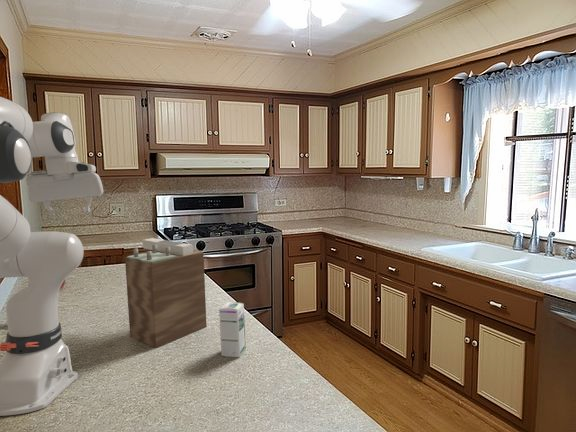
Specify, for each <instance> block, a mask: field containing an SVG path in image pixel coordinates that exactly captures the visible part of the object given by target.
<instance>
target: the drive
mask: <svg viewBox="0 0 576 432" xmlns="http://www.w3.org/2000/svg"><path fill="white" fill-rule="evenodd" d="M152 245H157V251H160V252H165V253H166V247H170V253H171V254H176V255H181V256H185V255H190V254H193V250H194V246H193V245H194V244H191V243H184V242H178V241H172V240H167V239H161V238H155V237H150V238H145V239H142V248H143V249H144V250H145V249H146V250H149V251H153V249H152Z"/></svg>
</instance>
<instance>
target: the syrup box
mask: <svg viewBox="0 0 576 432" xmlns="http://www.w3.org/2000/svg"><path fill="white" fill-rule="evenodd" d="M218 314H219V315H218V317H219V332H220V333H219V334H220V337H219V338H220V349H221V350H220V352H221V356H222V357H228V358H241V356H242V355H243V353H244V352H245V351H246V348H247V346H246V326H245V325H246V323H245V321H246V320H245V305H244V303H243V302H238V301H237V302H236V301H226V302H225V303H224V304H223V305H222V306H220V307H219V309H218Z"/></svg>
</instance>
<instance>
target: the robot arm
mask: <svg viewBox="0 0 576 432" xmlns="http://www.w3.org/2000/svg"><path fill="white" fill-rule="evenodd" d="M76 144H77V142H76V136H75V133H74V128H73V125H72V122H71V119H70V117H69V115H67V114H65V113H61V112H47V113H43V114H42V115H41V116H40V121H33V119H32V117H31V116H30V114H29V113H28V111H27V110H26V109H25V108H24V107H23V106H21V105H20V104H18V103H16V102H14V101H13V100H10V99H7V98H6V97H3V96H0V183H1V184H8V183H9V184H10V183H13V182H18V181H21V180H24V179H25V181H26V185H27V187H28V188H27V189H28V200H29V201H30V202H31V203H34V204H35V203H43V207H45V209H47V211H48V213H49V217H56V216H57V210H56V209H53V208H52V206H51V205H52V203H51V202H53V201H60V200H62V201H63V200H70V199H78V198H79V199H81V198H85V201H87V203H86V205H85V206H83V207H82V209H83V213H90V212H91V209H90V208H91V207H90V206H91V204H92V202H93V197H99V196H102V195H103V194H104V188H103V187H104V186H103V183H102V180H101V177H100V175H99V174H97V173H96V171H97V167H96V166H95V165H94V164H90V163H86V162H82V161H81V162H80V161H79V157H78V153H77V152H76V151H77V150H76ZM40 157H44V162H45V167H46V169H45V170H44V169H43V170H38V171H36V170H35V171H30V170H31V166H32V158H40ZM83 259H84V246H83V243H82V240H80V238H79V237H78V236H77V235H76V234H74V233H71V232H63V231H57V230H49V231H48V230H47V231H46V230H45V231H31V226H30V223H29V221H28V219H27V218H26V217H25V216H24V215H23V214H22V213H21V212H20V211H19V210H18V209H17V208H16V207H15V206H14V205H13V204H12V203H10V201H9V200H8V199H6V198H5V197H4V196H2V195H1V194H0V279H3V278H5V279H6V278H21V277H22V278H23V277H24V278H25V277H27V278H28V282H27V283H28V284H27V287H25V288H23V289H21V290H19V291H17V292H15V293H14V294H13V295H11V297H10V298H9V299H8V300H7V303H6V305H5V312H6V322H7V331H8V332H7V333H6V338H5V342H1V343H0V352H5V354H4V356H3V358H2V360H1V362H0V417H1V416H3V417H5V416H15V415H22V414H27V413H32V412H36V411H39V410H42V409H44V408H46V407H48V405H50V404H51V402H53V401H54V400H55V399H56V398H57V397H58V396H59V395H60V394H62V393H63V392H64V391H65V389H67V388H68V387H69V386H70V385H71V384H72V383H73V382H75V380H77V379H78V378H79V373H78V372H77V371H75V370H73V368H72V361H71V355H70V348H69V347H68V346H67V345H66V344H65V343H64V341H63V339H62V338H63V329H62V326H61V325H62V324H61V323H60V322H59V295H60V294H59V293H60V287H61V285H62V283H63V282H64V280H65V281H66V279H67V277H68V276H69V275H71V273H73V272H74V271H76V270H77V268H79V266H80V265H81V264H82V262H83Z"/></svg>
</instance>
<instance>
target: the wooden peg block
mask: <svg viewBox="0 0 576 432" xmlns="http://www.w3.org/2000/svg"><path fill="white" fill-rule="evenodd" d="M152 249H153V250H148V251H146V252H141V253H139V248H136V247H135V248H133V250H132V251H133V252H132V253H133V254H132V255H128V256H127V255H126V257H124V265H125V280H126V294H127V307H128V308H127V310H128V323H129V325H128V326H129V327H128V328H129V337H130V338H132V339H133V340H136V341H138V342H141V343H143V344H146V345H148V346H151V347H153V348H155V349H158V348H161V347H163V346H165V345H166V344H170V343H171V342H174V341H177V340H179V339H181V338H185V337H186V336H188V335H191V334H193V333H196V332H198V331H201V330H202V329H205V328H207V325H208V324H207V310H206V309H207V306H206V305H207V303H206V284H205V283H206V281H205V259H204V258H205V257H204V256H205V255H204V251H199V250H194V249H193V254H190V255H185V256H181V255H176V254H171V253H170V247H166V253H165V252H160V251H157V245H152Z"/></svg>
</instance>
